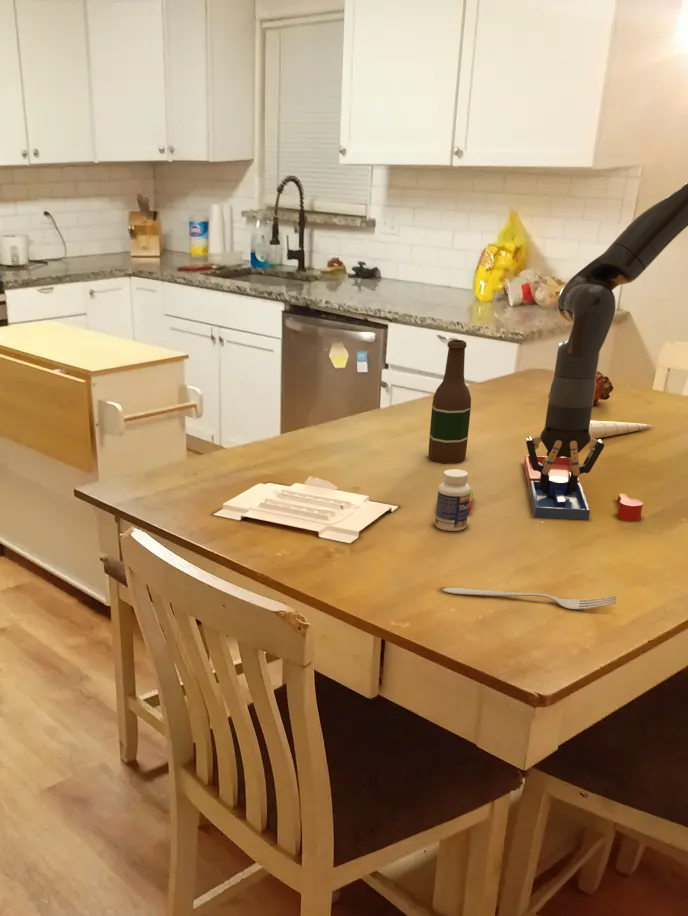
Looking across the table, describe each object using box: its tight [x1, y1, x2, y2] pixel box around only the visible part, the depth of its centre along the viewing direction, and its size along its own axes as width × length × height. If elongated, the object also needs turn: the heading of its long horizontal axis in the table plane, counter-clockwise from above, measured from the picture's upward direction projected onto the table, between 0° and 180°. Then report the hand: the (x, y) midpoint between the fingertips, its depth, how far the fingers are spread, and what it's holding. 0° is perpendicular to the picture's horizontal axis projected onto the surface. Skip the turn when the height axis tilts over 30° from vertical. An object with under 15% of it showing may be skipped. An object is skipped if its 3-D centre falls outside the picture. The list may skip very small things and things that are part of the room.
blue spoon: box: [547, 476, 569, 508], centre depth 173 cm, size 10×4×3 cm, turn 167°
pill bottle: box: [434, 468, 471, 532], centre depth 164 cm, size 5×5×10 cm
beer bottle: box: [428, 339, 472, 464], centre depth 194 cm, size 8×8×24 cm
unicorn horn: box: [589, 420, 652, 440], centre depth 209 cm, size 5×24×5 cm, turn 109°
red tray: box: [523, 454, 580, 489], centre depth 187 cm, size 9×14×2 cm, turn 167°
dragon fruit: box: [593, 370, 614, 405], centre depth 233 cm, size 8×8×12 cm
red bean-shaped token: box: [616, 493, 644, 522], centre depth 169 cm, size 10×4×3 cm, turn 167°
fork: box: [442, 587, 618, 610], centre depth 139 cm, size 3×24×2 cm, turn 70°
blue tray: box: [528, 481, 591, 521], centre depth 173 cm, size 9×14×2 cm, turn 167°
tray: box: [212, 475, 399, 544], centre depth 174 cm, size 20×28×4 cm
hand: (556, 492), depth 176 cm, fingers closed on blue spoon, 3 cm apart
